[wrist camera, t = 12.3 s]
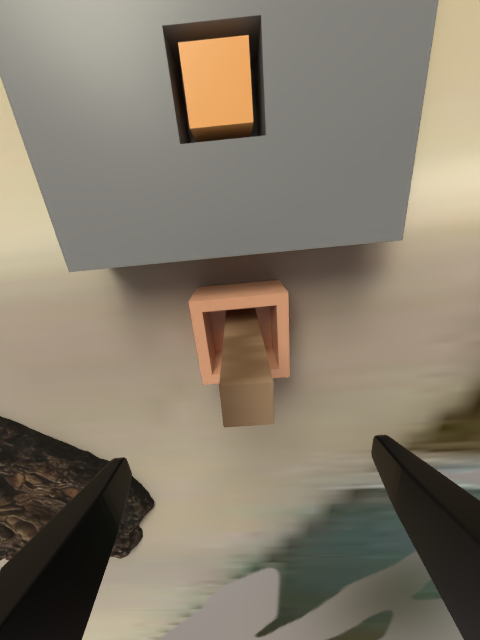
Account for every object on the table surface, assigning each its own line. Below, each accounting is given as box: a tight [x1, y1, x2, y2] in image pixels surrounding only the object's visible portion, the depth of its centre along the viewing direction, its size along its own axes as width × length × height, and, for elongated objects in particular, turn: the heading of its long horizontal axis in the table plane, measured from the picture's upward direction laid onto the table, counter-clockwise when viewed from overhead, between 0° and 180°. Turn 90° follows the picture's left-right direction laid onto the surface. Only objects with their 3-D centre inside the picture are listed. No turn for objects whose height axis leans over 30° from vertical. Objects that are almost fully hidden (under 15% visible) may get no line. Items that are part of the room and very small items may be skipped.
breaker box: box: [0, 0, 438, 272], centre depth 14 cm, size 20×16×4 cm
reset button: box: [178, 35, 253, 142], centre depth 13 cm, size 3×3×4 cm
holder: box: [189, 280, 290, 385], centre depth 19 cm, size 7×7×4 cm
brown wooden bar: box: [219, 308, 274, 427], centre depth 16 cm, size 2×2×10 cm
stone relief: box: [0, 417, 154, 560], centre depth 27 cm, size 26×4×30 cm
